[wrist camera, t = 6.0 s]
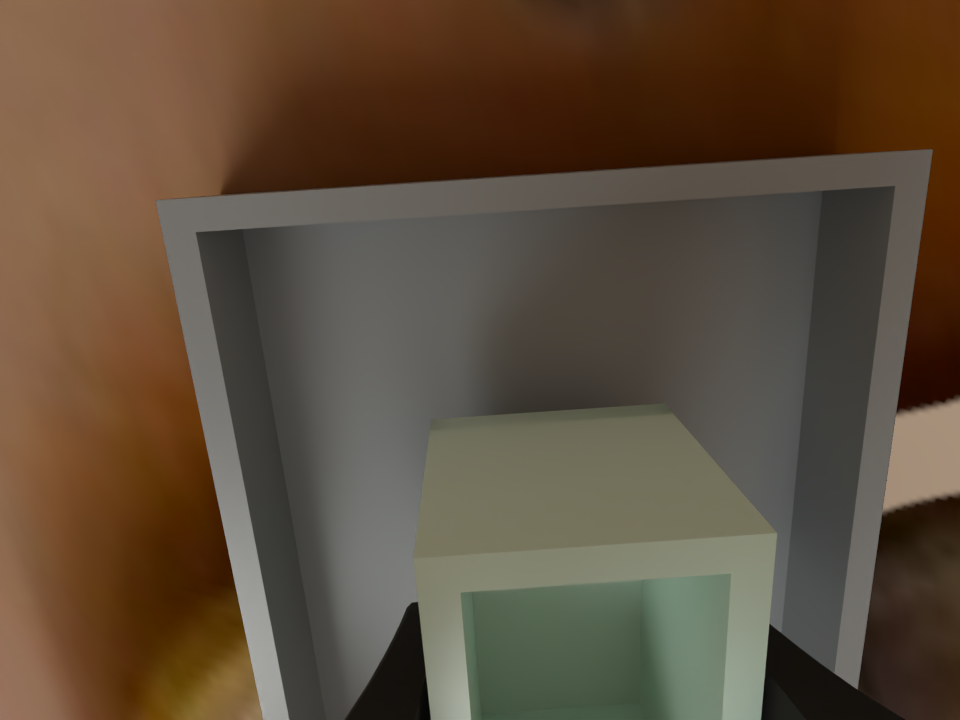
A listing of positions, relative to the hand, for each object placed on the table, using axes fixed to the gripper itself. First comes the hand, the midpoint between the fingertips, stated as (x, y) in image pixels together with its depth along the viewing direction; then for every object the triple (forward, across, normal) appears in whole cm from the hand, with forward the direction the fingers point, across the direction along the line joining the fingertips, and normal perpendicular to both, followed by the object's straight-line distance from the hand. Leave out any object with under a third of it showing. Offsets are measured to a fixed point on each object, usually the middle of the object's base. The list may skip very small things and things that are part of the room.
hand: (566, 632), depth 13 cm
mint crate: (+2, 0, 0) cm, 2 cm away
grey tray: (+4, 0, 0) cm, 4 cm away
